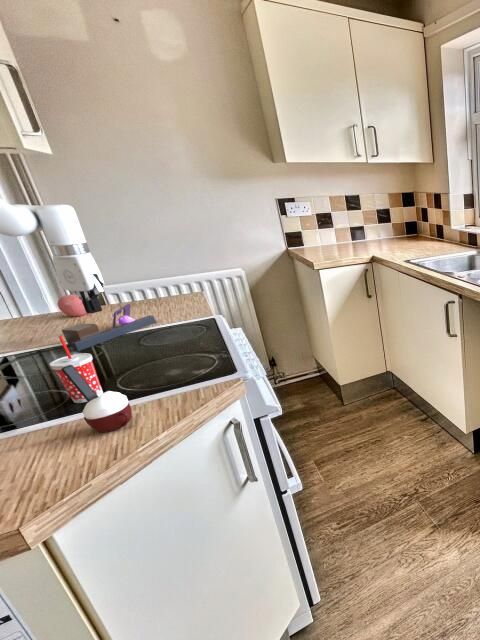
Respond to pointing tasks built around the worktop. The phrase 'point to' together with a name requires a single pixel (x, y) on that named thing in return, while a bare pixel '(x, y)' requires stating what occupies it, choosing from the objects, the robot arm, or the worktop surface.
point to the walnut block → (79, 332)
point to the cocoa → (101, 404)
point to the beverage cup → (82, 366)
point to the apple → (71, 305)
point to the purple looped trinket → (124, 318)
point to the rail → (112, 333)
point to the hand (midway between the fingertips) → (94, 311)
